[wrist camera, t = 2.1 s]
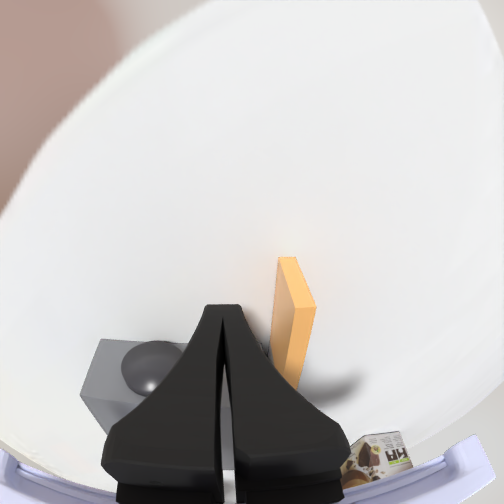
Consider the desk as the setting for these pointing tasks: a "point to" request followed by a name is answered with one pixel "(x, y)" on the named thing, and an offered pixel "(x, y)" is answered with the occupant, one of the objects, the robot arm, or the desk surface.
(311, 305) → the side door
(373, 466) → the coffee box
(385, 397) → the desk surface
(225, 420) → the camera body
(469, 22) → the desk surface
